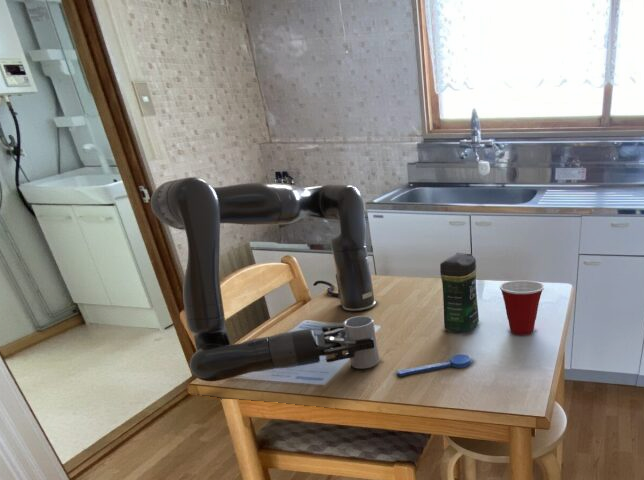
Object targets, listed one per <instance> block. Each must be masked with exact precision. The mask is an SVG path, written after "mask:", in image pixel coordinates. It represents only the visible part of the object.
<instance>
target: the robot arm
mask: <svg viewBox="0 0 644 480" xmlns="http://www.w3.org/2000/svg"><path fill="white" fill-rule="evenodd" d="M150 207H151V211H152V212H153V214H154V215H155V216H156V218H157V219H158V220H159V221H160V222H162V223H163V224H164V225H166V226H168V227H170V228H173V229H176V230H182V231H183V230H184V232H185V235H186V240H187V261H186V268H185V273H184V278H183V284H182V301H183V308H184V314H185V319H186V326H187V329H188V331H189V332H190V333H191V334H192V335H193V339H194V344H195V350H196V351H195V352H194V353H193V355H192V356H191V358H190V360H189V369H190V371H191V373H192V375H193V376H194V377H195V378H197V379H199V380H200V381H203V382H208V383H209V382H211V383H213V382H219V381H223V380H227V379H228V380H229V379H232V378H235V377H239V376H243V375H246V374H249V373H258V372H264V371H265V372H266V371H270V370H277V369H289V368H295V367H301V366H307V365H312V364H313V365H314V364H318V363H320V361H321V357H324V356H325V360H326V362H327V363H333V362H336V361H337V362H338V361H342V360H347V359H350V358H352V357H355V353H357V351H360V350H366V349H372V348H374V341H373V339H372V338H368V339H362V340H356V342H355V341H347V340H346V336H345V331H344V326H343V324H336V325H329V326H323V327H321V330H322V331H321V332H322V333H318V334H316V332H315V330H314V329H313V328H306V329H300V330H294V331H288V332H281V333H277V334H274V335H270V336H264V337H257V338H252V339H251V338H250V339H247V340H244V341H242V342H239V343H233V344H231V341H230V338H229V335H228V331H227V327H226V317H225V311H224V310H225V309H224V304H223V296H222V288H221V274H220V272H221V271H220V252H221V251H220V249H221V248H220V247H221V246H220V245H221V241H220V240H221V238H220V237H221V224H233V225H244V226H245V225H246V226H247V225H248V226H249V225H250V226H277V225H289V224H293V223H296V222H298V221H300V220H302V219H316V220H317V219H319V220H326V221H330V222H339V228H340V229H339V230H340V231H339V233H336V234H334V235H332V236H331V238H330V247H331V252H332V257H333V261H334V267H335V272H336V273H335V280H336V286H337V292H333V290H334V289H335V285H334V284H333V283H331V282H328V281H327V280H316V281H314V283H313V284H312V286H314V287H316V286H317V285H319V284H322V285H326V286H329V288H328V289H327V294H328V295H330V296H334V297H338V299H339V301H340V305H341V306H342V309H343V311H347V312H362V311H366V310H367V311H368V310H370V309H372V308H374V307H375V306H376V299H375V293H374V287H373V279H372V274H371V268H370V267H371V266H370V261H369V255H368V249H367V244H366V243H367V242H366V238H367V223H366V222H367V221H366V214H365V205H364V200H363V197H362V194H361V192H360V190H359V189H358V188H357V187H356V186H354V185H351V184H337V183H336V184H335V183H330V184H329V183H328V184H323V185H315V186H307V187H306V186H305V187H301V186H297V185H293V184H290V183H285V182H284V183H283V182H271V181H269V182H268V181H266V182H265V181H258V182H247V183H240V184H239V183H238V184H232V185H227V186H218V187H217V186H216V187H213V186H212V185H211V184H210V183H209V182H207V181H206V180H204V179H203V178H199V177H191V176H189V177H183V178H179V179H174V180H169V181H166V182H164V183H161V184H160V185H159V186H158V187H157V188H156V189H155V190H154V191H153V192H152V194H151V197H150Z"/></svg>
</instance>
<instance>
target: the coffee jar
mask: <svg viewBox="0 0 644 480" xmlns="http://www.w3.org/2000/svg"><path fill="white" fill-rule="evenodd" d="M439 271H440V278H441V285H442V299H443V300H442V301H443V302H442V303H443V327H444V329H445V330H446V331H448V332H451V333H453V334H462V333H469V332H471V331H472V330H474V329H475V328H476V327H477V325H478V324H479V322H480V317H479V307H478V293H477V260H476V257H475V256H474V255H473V254H472V253H465V252H456V253H455V254H453V255H451V256H449V257H447V258H446V259H445V260H443V261H441V263H440V266H439Z"/></svg>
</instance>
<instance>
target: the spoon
mask: <svg viewBox="0 0 644 480" xmlns="http://www.w3.org/2000/svg"><path fill="white" fill-rule="evenodd" d="M471 363H472V358H471V356H470V355H468V354H464V353H459V354H455V355H453V356H451V357H450V359H449V360H447V361H443V362H437V363H432V364H426V365H421V366H415V367H409V368H403V369H402V368H401V369H399V370H397V372H396V373H397V377H398V376H399V377H405V376H409V375H413V374H419V373H425V372H429V371H434V370H435V371H436V370H441V369H445V368H451V367H453V368H455V369H463V368H467V367H469V366H470V365H471Z"/></svg>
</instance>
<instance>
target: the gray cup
mask: <svg viewBox="0 0 644 480" xmlns="http://www.w3.org/2000/svg"><path fill="white" fill-rule="evenodd" d="M342 325H343V326H344V328H343V329H344V331H345V336H346V340H347V341H355V342H356V340H362V339H368V338H372V339H373V341H374V348H372V349H366V350H360V351H357V353H355V357H352V358H349V362H350V365H351V366H352V368H355V369H362V370H363V369H369V368H372V367H374V366H376V365H378V364H379V363H380V353H379V347H378V340H377V335H376V334H377V333H376V327H375V322H374V318H373V317H372V316H368V315H355V316H351V317H349V318H346V319H345V320H344V321H343V322H342Z"/></svg>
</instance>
